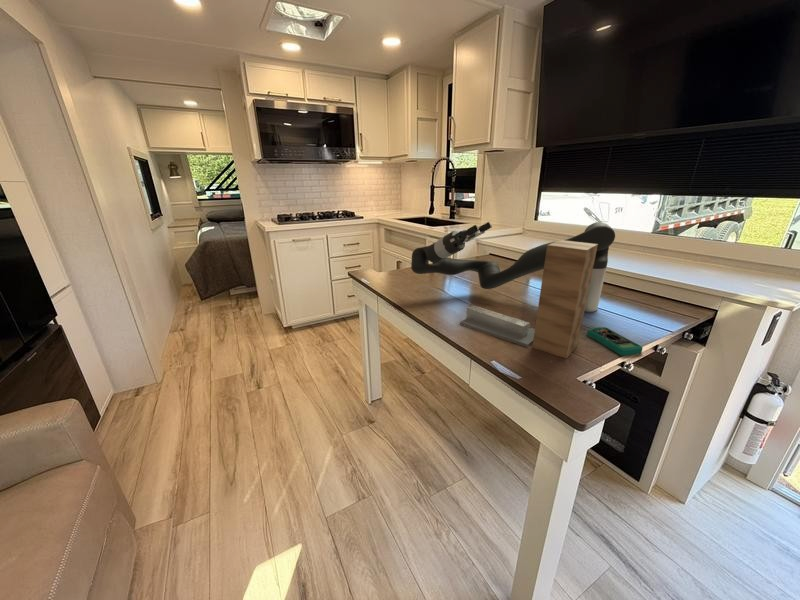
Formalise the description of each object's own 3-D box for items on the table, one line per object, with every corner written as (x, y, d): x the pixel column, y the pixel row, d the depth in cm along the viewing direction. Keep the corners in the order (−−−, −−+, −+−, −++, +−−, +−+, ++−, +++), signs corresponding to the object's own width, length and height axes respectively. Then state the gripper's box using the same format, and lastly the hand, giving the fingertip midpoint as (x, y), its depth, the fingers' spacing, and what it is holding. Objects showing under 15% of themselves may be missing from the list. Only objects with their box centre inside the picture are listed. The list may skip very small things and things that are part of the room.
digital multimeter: (603, 333, 110) (605, 325, 109) (642, 354, 97) (644, 346, 96) (584, 335, 109) (586, 327, 108) (621, 357, 95) (623, 349, 94)
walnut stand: (544, 336, 108) (560, 239, 96) (577, 346, 101) (597, 244, 90) (532, 347, 101) (547, 245, 90) (566, 358, 94) (587, 250, 83)
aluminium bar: (472, 315, 122) (473, 305, 121) (528, 333, 107) (529, 322, 106) (466, 318, 120) (466, 308, 118) (522, 337, 105) (523, 326, 103)
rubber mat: (477, 314, 125) (477, 312, 125) (542, 334, 109) (543, 331, 109) (460, 324, 117) (460, 321, 117) (527, 347, 101) (528, 344, 101)
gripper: (463, 251, 125) (498, 233, 113) (441, 257, 116) (477, 239, 104) (456, 233, 126) (490, 213, 114) (433, 238, 116) (468, 217, 104)
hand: (484, 225), depth 109 cm, fingers open, 8 cm apart
